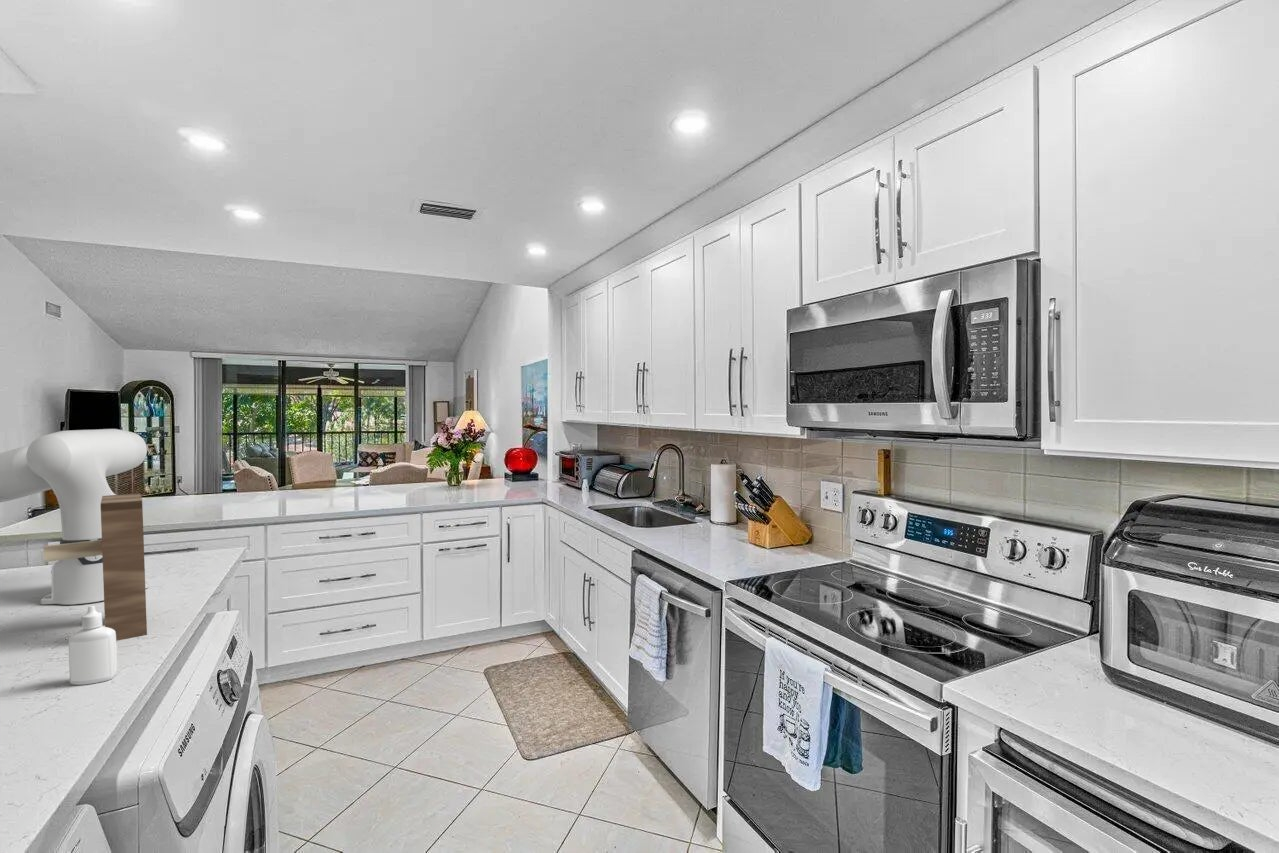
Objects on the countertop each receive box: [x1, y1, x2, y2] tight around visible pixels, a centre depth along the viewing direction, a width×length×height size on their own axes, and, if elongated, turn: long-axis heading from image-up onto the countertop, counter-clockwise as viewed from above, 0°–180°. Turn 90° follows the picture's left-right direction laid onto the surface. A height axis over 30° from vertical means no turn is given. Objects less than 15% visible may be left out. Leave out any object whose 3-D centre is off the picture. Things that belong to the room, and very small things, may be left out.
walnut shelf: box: [101, 492, 148, 641], centre depth 121 cm, size 14×6×26 cm, turn 40°
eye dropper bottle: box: [68, 605, 118, 686], centre depth 98 cm, size 4×6×12 cm
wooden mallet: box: [43, 540, 102, 563], centre depth 118 cm, size 8×14×4 cm, turn 130°
